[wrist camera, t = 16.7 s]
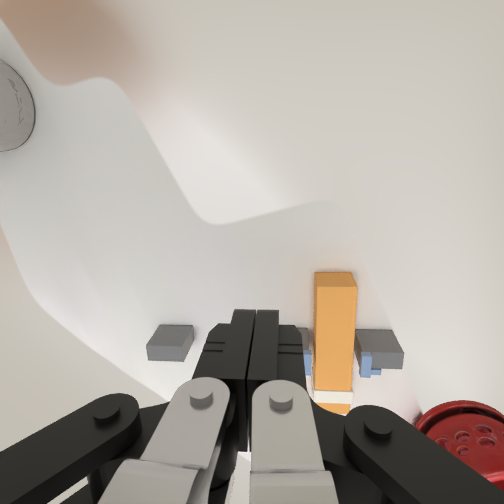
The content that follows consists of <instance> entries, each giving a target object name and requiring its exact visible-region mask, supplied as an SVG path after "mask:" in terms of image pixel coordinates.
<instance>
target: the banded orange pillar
mask: <svg viewBox="0 0 504 504" xmlns="http://www.w3.org/2000/svg"><path fill="white" fill-rule="evenodd" d="M356 303H357V285H356V283H355V280H354V278H353V276H352V274H351V272H315V276H314V332H313V367H312V376H311V378H312V389H313V400H314V402H315V403H316V404H317V405H319V406H320V407H322V408H323V409H326V410H328V411H330V412H333V413H338V414H348V412H349V411H350V404H352V400H353V390H352V386H351V385H352V369H353V352H354V336H355V319H356Z"/></svg>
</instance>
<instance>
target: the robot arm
mask: <svg viewBox="0 0 504 504" xmlns="http://www.w3.org/2000/svg"><path fill="white" fill-rule="evenodd" d="M33 124H34V106H33V101H32V98H31V95H30V92H29V90H28V88H27V86H26V84H25V83H24V81H23V80H22V79H21V77H20V76H19V75H18V74H17V73H16V72H15V71H14V70H13V69H12V68H11V67H10V66H8V65H7V64H5V63H4V62H2V61H0V151H8V150H12V149H15V148H17V147H19V146H20V145H22V144H23V143H24V142H25V141H26V140H27V139H28V137H29V135H30V133H31V132H32V128H33ZM248 440H249V446H250V452H251V471H250V501H249V502H250V503H249V504H504V491H503V490H501V489H500V488H499V487H497V486H496V485H494V484H493V483H492V482H490V481H489V480H487V479H486V478H485V477H483V476H482V475H481V474H479V473H478V472H476V471H475V470H474V469H472V468H471V467H469V466H468V465H467V464H465V463H464V462H462V461H461V460H460V459H458V458H457V457H455V456H454V455H453V454H451V453H450V452H449V451H447V450H446V449H444V448H443V447H442V446H440V445H439V444H437V443H436V442H435V441H433V440H432V439H430V438H429V437H428V436H426V435H425V434H424V433H422V432H421V431H419V430H418V429H417V428H415V427H414V426H412V425H411V424H410V423H408V422H407V421H405V420H404V419H403V418H401V417H400V416H398V415H397V414H395V413H394V412H392V411H390V410H388V409H386V408H383V407H379V406H374V405H363V406H358V407H356V408H354V409H352V410H351V411H349V412H348V414H347V415H346V416H343V415H339V414H336V413H333V412H330V411H328V410H326V409H323V408H322V407H320V406H319V405H317V404H316V403H315V402H314V401H313V400H312V399H311V397H310V396H309V394H308V392H307V387H306V376H305V365H304V355H303V344H302V334H301V333H300V331H299V330H298V329H297V328H296V326H295V325H279V310H257V314H256V310H245V309H235V310H234V313H233V316H232V320H231V324H221V323H219V324H217V325H216V326H215V327H214V328H213V329H212V330H211V331H210V332H209V334H208V337H207V339H206V343H205V345H204V348H203V352H202V353H201V356H200V358H199V361H198V364H197V366H196V369H195V372H194V374H193V377H192V380H190V381H188V382H186V383H184V384H183V385H181V386H180V387H179V388H178V389H177V390H176V392H175V394H174V395H173V397H172V399H171V401H170V402H167V403H164V404H160V405H156V406H152V407H146V408H141V409H139V405H138V402H137V400H136V399H135V398H134V397H132V396H130V395H128V394H122V393H117V394H109V395H106V396H103V397H100V398H98V399H96V400H94V401H92V402H90V403H88V404H87V405H85V406H83V407H81V408H79V409H78V410H76V411H74V412H72V413H70V414H69V415H67V416H65V417H63V418H61V419H59V420H58V421H56V422H54V423H52V424H50V425H48V426H47V427H45V428H43V429H41V430H39V431H38V432H36V433H34V434H32V435H30V436H28V437H27V438H25V439H23V440H21V441H19V442H18V443H16V444H14V445H12V446H10V447H9V448H7V449H5V450H3V451H1V452H0V504H47V503H48V502H50V501H51V500H53V499H54V498H55V497H57V496H58V495H60V494H61V493H63V492H64V491H66V490H67V489H69V488H70V487H71V486H73V485H74V484H76V483H77V482H79V481H80V480H81V479H83V478H85V477H86V476H87V480H88V484H87V485H85V486H84V487H83V488H81V489H80V490H79V491H77V492H76V493H74V494H73V495H71V496H70V497H69V498H67V499H66V500H64V501H63V502H62V503H60V504H229V501H230V497H231V493H232V488H233V483H234V470H235V466H236V459H237V453H238V451H241V452H247V449H248Z"/></svg>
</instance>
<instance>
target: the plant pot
mask: <svg viewBox="0 0 504 504" xmlns="http://www.w3.org/2000/svg"><path fill="white" fill-rule="evenodd" d="M415 428H417V429H418V430H419V431H421V432H422V433H424V434H425V435H426V436H428V437H429V438H430V439H432V440H433V441H435V442H436V443H437V444H439V445H440V446H442V447H443V448H444V449H446V450H447V451H449V452H450V453H451V454H453V455H454V456H455V457H457V458H458V459H460V460H461V461H462V462H464V463H465V464H467V465H468V466H469V467H471V468H472V469H474V470H475V471H476V472H478V473H479V474H481V475H482V476H483V477H485V478H486V479H487V480H489V481H490V482H492V483H493V484H494V485H496V486H497V487H499V488H500V489H501V490H503V491H504V415H502V414H501V413H500V412H499V411H497V410H496V409H494V408H492V407H490V406H488V405H485V404H482V403H479V402H475V401H465V400H459V401H451V402H446V403H443V404H440V405H438V406H436V407H434V408H432V409H430V410H429V411H427V412H426V413H425V414H424V415H423V416H422V417H421V418H420V419H419V421H418V422H417V424H416V426H415Z"/></svg>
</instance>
